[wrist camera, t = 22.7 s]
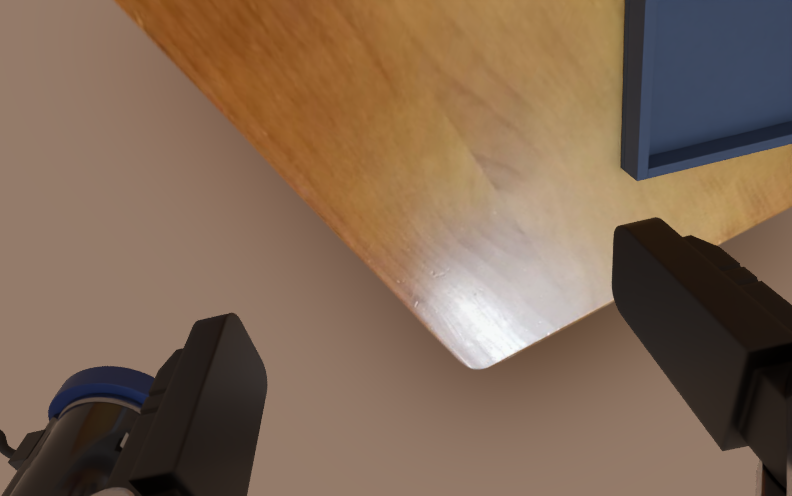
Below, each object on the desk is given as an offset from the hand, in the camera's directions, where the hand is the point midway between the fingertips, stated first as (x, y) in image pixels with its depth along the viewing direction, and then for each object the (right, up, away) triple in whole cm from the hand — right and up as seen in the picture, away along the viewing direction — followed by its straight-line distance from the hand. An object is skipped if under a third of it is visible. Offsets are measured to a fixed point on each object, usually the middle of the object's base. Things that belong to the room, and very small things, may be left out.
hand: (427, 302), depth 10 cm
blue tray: (+23, +15, +23) cm, 36 cm away
